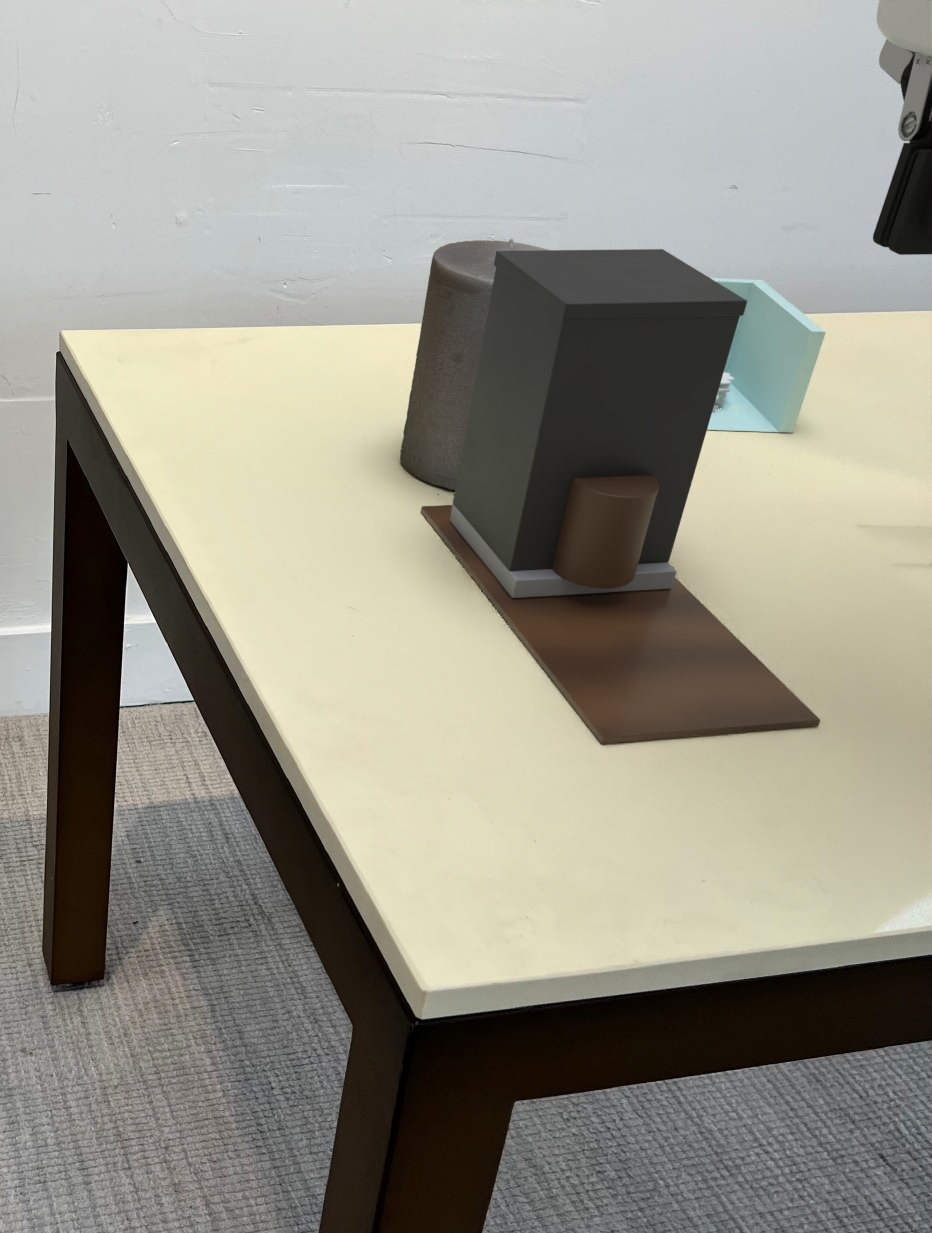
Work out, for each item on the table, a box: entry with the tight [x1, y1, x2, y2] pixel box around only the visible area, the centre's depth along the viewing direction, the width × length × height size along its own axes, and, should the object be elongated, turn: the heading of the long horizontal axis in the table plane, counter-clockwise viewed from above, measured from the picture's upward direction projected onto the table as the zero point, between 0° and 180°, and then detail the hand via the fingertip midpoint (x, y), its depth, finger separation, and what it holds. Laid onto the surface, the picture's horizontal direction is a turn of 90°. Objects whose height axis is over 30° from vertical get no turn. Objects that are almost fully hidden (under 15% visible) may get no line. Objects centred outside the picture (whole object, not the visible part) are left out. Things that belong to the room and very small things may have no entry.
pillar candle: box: [399, 238, 549, 491], centre depth 91 cm, size 10×10×15 cm
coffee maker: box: [450, 248, 747, 598], centre depth 79 cm, size 12×10×16 cm
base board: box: [420, 504, 821, 745], centre depth 80 cm, size 26×12×1 cm, turn 11°
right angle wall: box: [707, 277, 827, 434], centre depth 106 cm, size 12×12×8 cm
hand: (915, 247), depth 59 cm, fingers closed
